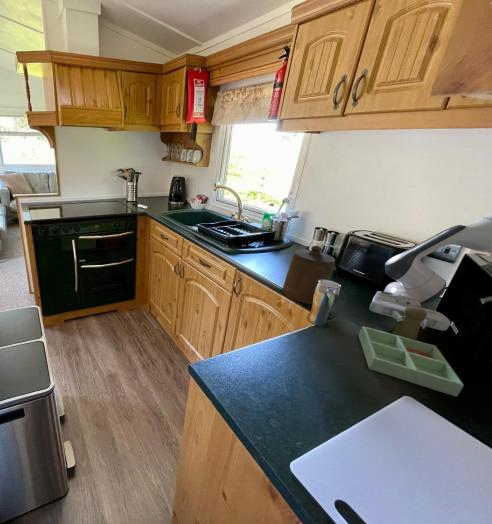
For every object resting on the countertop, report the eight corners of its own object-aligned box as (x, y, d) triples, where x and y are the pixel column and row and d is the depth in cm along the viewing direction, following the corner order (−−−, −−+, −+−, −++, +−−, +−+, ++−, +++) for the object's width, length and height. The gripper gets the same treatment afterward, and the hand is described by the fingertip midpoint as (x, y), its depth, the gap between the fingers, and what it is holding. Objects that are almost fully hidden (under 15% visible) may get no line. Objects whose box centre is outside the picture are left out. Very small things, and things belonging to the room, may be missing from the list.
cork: (399, 341, 92) (413, 311, 88) (387, 330, 98) (400, 302, 94) (420, 344, 91) (435, 314, 87) (407, 333, 97) (421, 305, 93)
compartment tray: (430, 355, 88) (435, 345, 87) (456, 397, 73) (464, 385, 71) (358, 335, 96) (362, 326, 94) (369, 369, 80) (374, 358, 79)
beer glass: (309, 314, 107) (321, 277, 101) (330, 322, 102) (344, 284, 97) (302, 320, 102) (315, 282, 97) (324, 329, 98) (338, 290, 92)
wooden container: (328, 299, 119) (345, 249, 111) (309, 307, 111) (326, 254, 103) (294, 285, 130) (308, 238, 122) (274, 291, 123) (288, 242, 115)
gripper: (438, 323, 99) (451, 343, 88) (366, 304, 109) (369, 320, 98) (446, 307, 97) (460, 326, 86) (372, 289, 106) (376, 304, 95)
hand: (411, 323), depth 92 cm, fingers closed on cork, 4 cm apart
